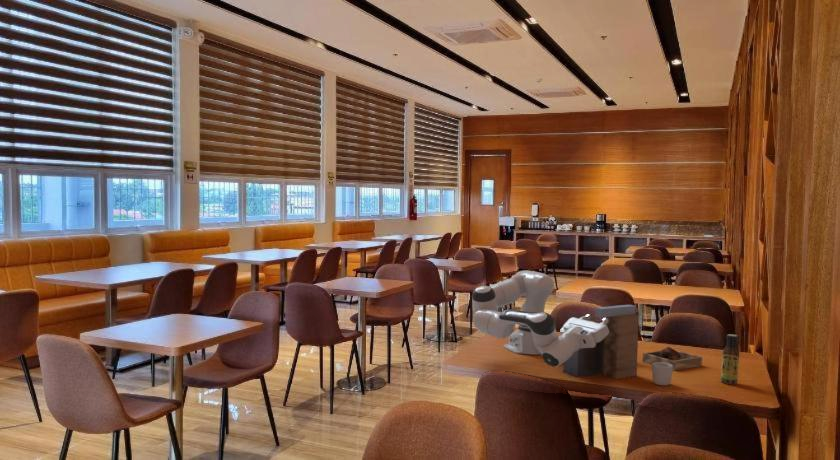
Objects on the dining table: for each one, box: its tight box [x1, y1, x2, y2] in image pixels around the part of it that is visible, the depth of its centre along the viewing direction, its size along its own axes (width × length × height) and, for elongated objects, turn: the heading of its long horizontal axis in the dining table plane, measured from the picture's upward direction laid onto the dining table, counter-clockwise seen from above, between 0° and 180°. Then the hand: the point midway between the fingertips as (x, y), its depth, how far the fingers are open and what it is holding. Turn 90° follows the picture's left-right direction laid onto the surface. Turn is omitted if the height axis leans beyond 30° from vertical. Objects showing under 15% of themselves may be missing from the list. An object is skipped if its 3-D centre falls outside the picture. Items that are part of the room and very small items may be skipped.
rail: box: [594, 304, 637, 319], centre depth 268 cm, size 4×20×4 cm, turn 120°
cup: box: [651, 362, 673, 387], centre depth 261 cm, size 11×8×8 cm
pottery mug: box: [658, 346, 681, 360], centre depth 295 cm, size 12×10×8 cm
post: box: [603, 313, 640, 380], centre depth 271 cm, size 7×12×26 cm, turn 120°
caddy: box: [642, 349, 703, 372], centre depth 293 cm, size 17×19×4 cm
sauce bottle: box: [720, 333, 740, 386], centre depth 263 cm, size 6×6×20 cm
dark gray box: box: [562, 338, 605, 378], centre depth 275 cm, size 8×18×18 cm, turn 120°
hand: (598, 317), depth 263 cm, fingers open, 8 cm apart
